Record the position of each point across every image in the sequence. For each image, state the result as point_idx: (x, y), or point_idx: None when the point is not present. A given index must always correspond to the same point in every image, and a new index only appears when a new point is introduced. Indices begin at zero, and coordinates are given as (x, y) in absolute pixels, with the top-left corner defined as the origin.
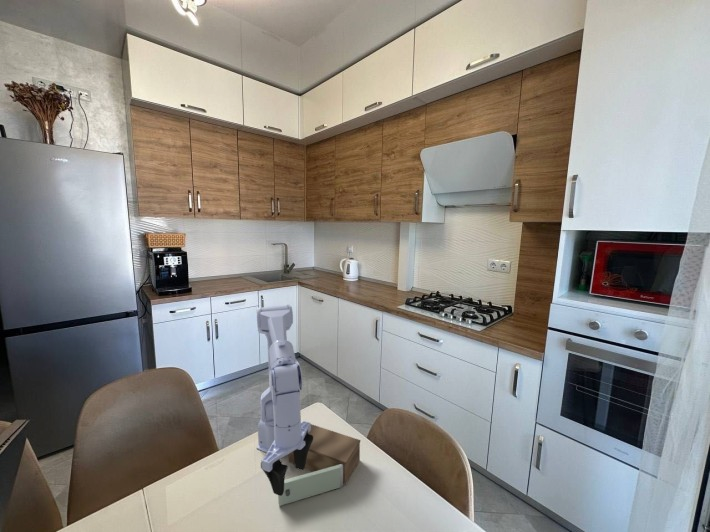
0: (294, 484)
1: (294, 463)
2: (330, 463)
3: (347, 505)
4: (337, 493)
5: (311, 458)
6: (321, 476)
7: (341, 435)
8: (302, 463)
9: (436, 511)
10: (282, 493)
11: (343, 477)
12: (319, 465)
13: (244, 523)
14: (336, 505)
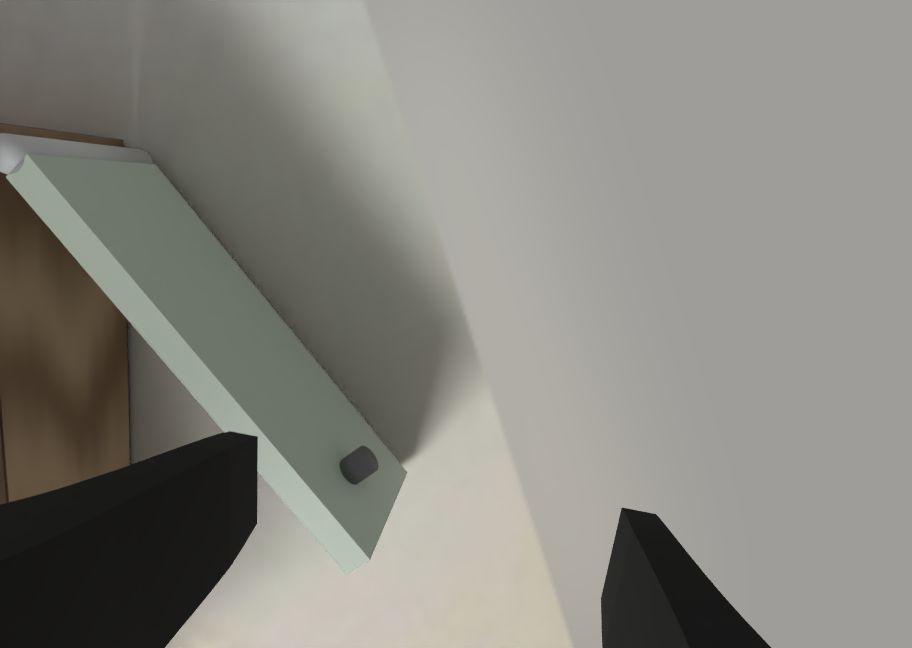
0: (304, 450)
1: None
2: (27, 269)
3: (247, 70)
4: (197, 170)
5: (54, 432)
6: (164, 284)
7: None
8: (205, 482)
9: None
10: (642, 516)
11: None
12: (76, 355)
13: (542, 589)
14: (273, 142)
